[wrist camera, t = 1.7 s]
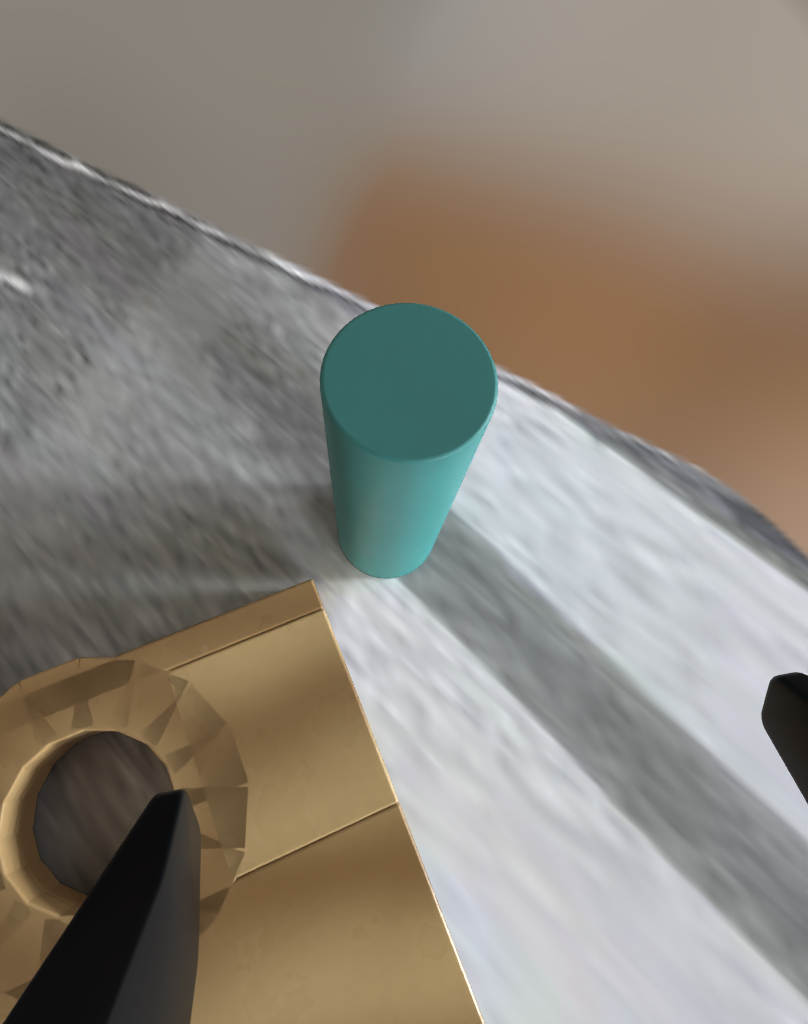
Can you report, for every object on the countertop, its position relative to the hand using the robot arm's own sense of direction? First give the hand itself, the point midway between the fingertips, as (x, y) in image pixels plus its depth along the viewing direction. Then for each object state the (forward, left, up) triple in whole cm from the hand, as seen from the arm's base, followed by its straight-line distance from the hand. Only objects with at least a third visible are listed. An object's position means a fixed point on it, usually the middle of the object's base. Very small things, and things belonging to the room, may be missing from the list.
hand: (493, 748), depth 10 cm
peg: (+7, -1, -12) cm, 13 cm away
